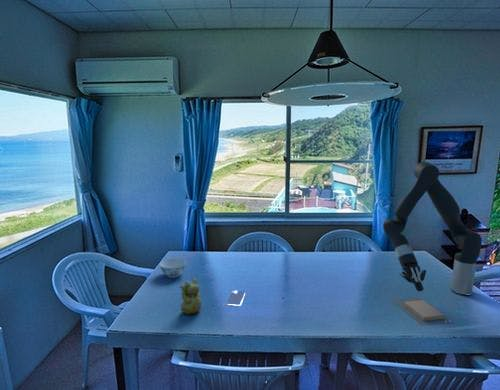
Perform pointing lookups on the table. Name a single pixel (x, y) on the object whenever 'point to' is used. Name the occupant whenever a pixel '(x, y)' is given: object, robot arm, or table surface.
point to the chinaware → (173, 266)
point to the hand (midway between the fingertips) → (420, 290)
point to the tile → (423, 310)
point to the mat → (430, 322)
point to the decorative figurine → (190, 297)
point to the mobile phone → (236, 298)
